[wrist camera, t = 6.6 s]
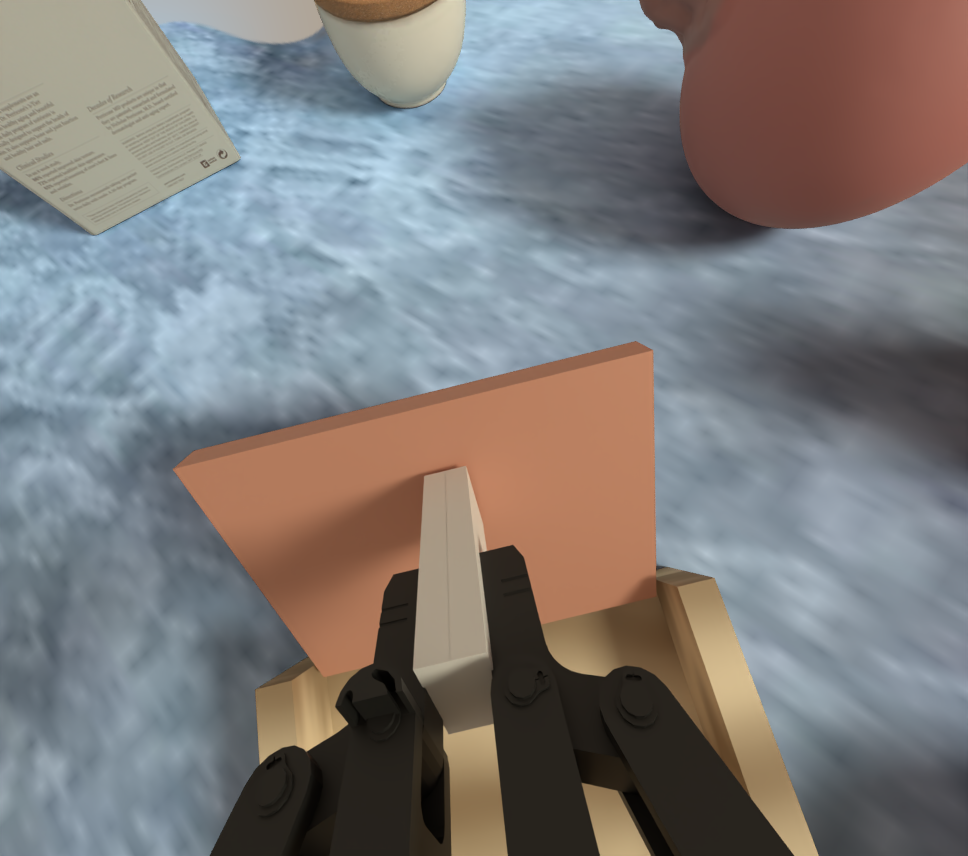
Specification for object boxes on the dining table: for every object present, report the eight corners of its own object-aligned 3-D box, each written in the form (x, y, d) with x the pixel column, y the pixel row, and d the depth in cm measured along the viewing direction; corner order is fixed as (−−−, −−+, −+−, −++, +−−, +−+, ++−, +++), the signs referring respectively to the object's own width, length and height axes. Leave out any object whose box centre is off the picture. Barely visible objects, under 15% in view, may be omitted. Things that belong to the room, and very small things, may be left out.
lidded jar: (475, 123, 30) (460, -50, 21) (344, 136, 31) (274, -27, 22) (473, 30, 33) (458, -158, 24) (352, 43, 34) (294, -135, 25)
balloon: (641, 64, 31) (762, -373, 16) (907, 150, 27) (1396, -322, 12) (548, 202, 28) (589, -173, 13) (830, 321, 24) (1350, -20, 9)
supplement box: (192, 69, 34) (-115, -375, 18) (245, 161, 31) (-72, -280, 14) (54, 137, 33) (-414, -265, 16) (94, 240, 30) (-444, -133, 13)
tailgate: (656, 596, 18) (652, 350, 12) (323, 677, 18) (172, 468, 12) (635, 562, 20) (624, 335, 14) (334, 635, 20) (207, 438, 14)
